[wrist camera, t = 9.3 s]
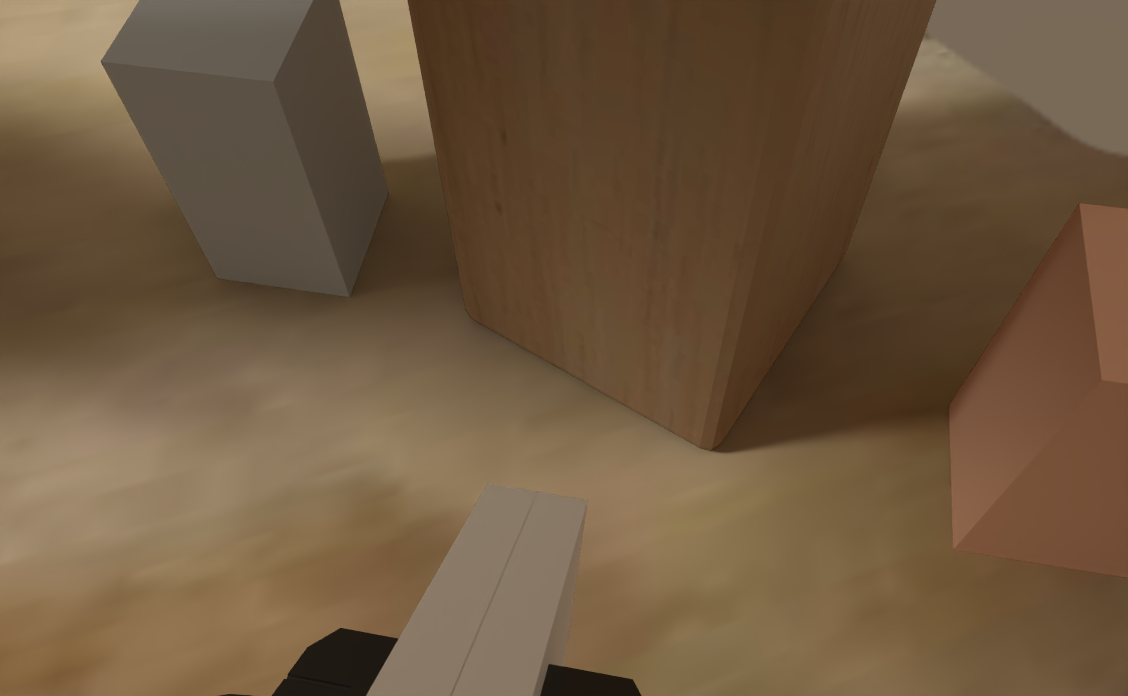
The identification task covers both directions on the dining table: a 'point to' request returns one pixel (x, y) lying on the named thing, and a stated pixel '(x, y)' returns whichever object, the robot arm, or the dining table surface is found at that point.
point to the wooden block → (659, 178)
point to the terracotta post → (1052, 412)
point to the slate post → (257, 134)
